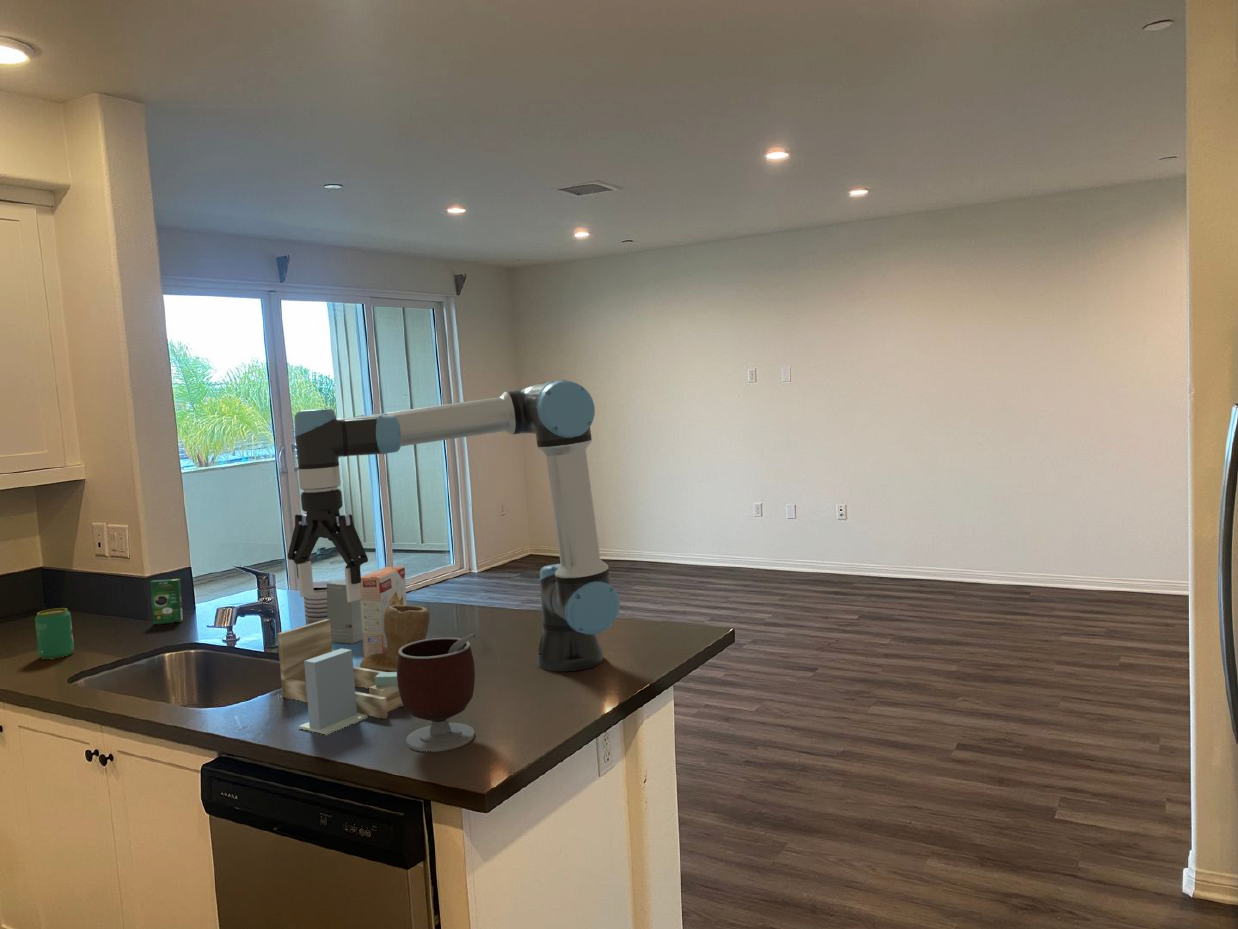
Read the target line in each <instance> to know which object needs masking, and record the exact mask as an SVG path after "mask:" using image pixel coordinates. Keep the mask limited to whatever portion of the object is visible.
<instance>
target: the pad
mask: <svg viewBox="0 0 1238 929" xmlns="http://www.w3.org/2000/svg"><path fill="white" fill-rule="evenodd" d="M368 717H369V716H367V715H365V714H360V713H357V714H356V715H354V716H351V717H349V718H346V719H344V720H342V721H339V722H337V723H334V724H332V725H330V726H327V727H325V728H323V729H315V728H311V727H310V726H309V721H308V722H305V723H303V724H300V725H298V729H299V730H301V729H303V730H302V731H305V730H310V731H315V732H318V733H322V734H325V735H324V736H326V735H327V734H329V735H331V734H330V733H332V732H334V731H336V732H338V731H337V730H339V731H341V730H343V729H345V728H344V727H346V728H348V727H350V726H351V725H350V724H353V725H355V724H358V723H359V721H360V722H362V721H364V720H366V719H365V718H367V719H368ZM363 719H364V720H363ZM361 720H362V721H361ZM349 725H350V726H349ZM347 726H348V727H347ZM342 728H343V729H342ZM340 729H341V730H340ZM310 731H309V732H310ZM318 733H317V734H318ZM334 733H335V732H334ZM322 734H321V735H322ZM332 734H333V733H332ZM327 736H328V735H327Z"/></svg>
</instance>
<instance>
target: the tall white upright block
mask: <svg viewBox="0 0 1238 929" xmlns="http://www.w3.org/2000/svg"><path fill="white" fill-rule="evenodd" d="M353 658H354V656H353V649H349V648H339V649H338V648H337V649H336V650H332V652H329V653H326V654H323V655H320V656H317V657H314V658H311V659H308V660H305V661H304V665H305V677H306V689H307V701H308V703H307V711H308V712H307V713H308V722H309V726H310V727H311V728H315V729H323V728H325V727H327V726H330V725H332V724H334V723H337V722H339V721H342V720H344V719H346V718H349V717H351V716H354V715H356V714H357V709H356V696H355V692H356V686H355V683H354V670H353V666H354V660H353Z"/></svg>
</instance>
